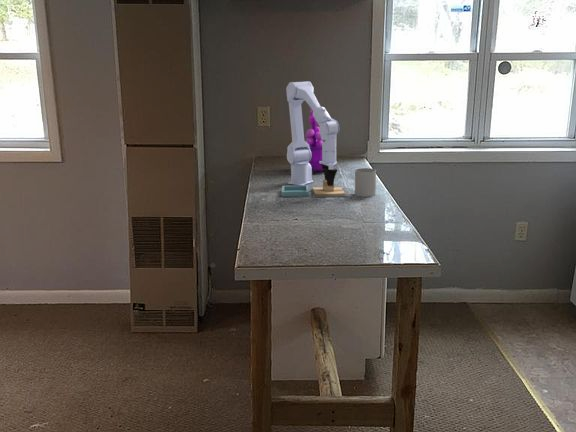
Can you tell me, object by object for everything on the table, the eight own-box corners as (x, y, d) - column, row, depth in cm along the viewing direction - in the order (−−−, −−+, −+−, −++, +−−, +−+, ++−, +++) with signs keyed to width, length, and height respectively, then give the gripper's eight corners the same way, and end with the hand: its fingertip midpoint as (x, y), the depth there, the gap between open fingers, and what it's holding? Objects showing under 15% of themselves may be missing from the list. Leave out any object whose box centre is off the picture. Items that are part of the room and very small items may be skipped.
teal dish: (282, 190, 260) (282, 185, 259) (308, 190, 260) (308, 185, 259) (281, 196, 249) (281, 192, 249) (308, 196, 249) (308, 191, 248)
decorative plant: (290, 168, 305) (289, 107, 296) (325, 165, 310) (325, 105, 302) (302, 175, 287) (301, 110, 279) (339, 172, 292) (339, 108, 284)
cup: (374, 197, 246) (375, 172, 244) (354, 196, 248) (354, 172, 245) (375, 192, 254) (376, 168, 252) (356, 191, 256) (356, 167, 253)
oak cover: (312, 189, 259) (312, 177, 258) (340, 188, 260) (340, 177, 259) (315, 196, 248) (315, 184, 247) (344, 195, 248) (345, 183, 247)
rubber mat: (311, 189, 261) (311, 188, 261) (344, 188, 261) (344, 187, 261) (312, 197, 247) (312, 196, 247) (347, 196, 247) (347, 195, 247)
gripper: (317, 147, 256) (317, 179, 260) (321, 154, 242) (321, 187, 246) (334, 147, 256) (334, 179, 260) (339, 153, 242) (338, 187, 246)
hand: (329, 183), depth 253 cm, fingers open, 7 cm apart
